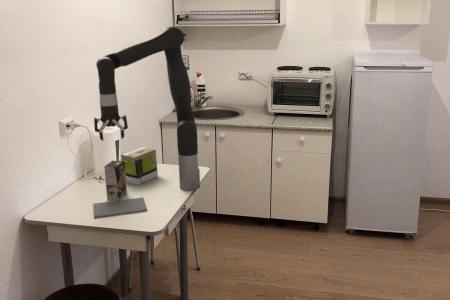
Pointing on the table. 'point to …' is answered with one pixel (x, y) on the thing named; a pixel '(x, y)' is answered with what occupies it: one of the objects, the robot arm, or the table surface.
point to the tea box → (140, 165)
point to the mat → (119, 207)
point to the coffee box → (115, 180)
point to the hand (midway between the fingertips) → (112, 139)
